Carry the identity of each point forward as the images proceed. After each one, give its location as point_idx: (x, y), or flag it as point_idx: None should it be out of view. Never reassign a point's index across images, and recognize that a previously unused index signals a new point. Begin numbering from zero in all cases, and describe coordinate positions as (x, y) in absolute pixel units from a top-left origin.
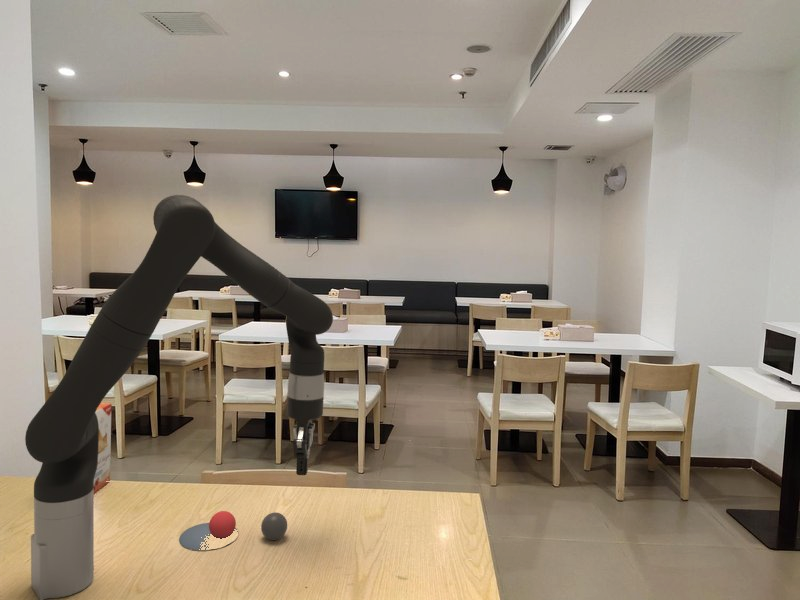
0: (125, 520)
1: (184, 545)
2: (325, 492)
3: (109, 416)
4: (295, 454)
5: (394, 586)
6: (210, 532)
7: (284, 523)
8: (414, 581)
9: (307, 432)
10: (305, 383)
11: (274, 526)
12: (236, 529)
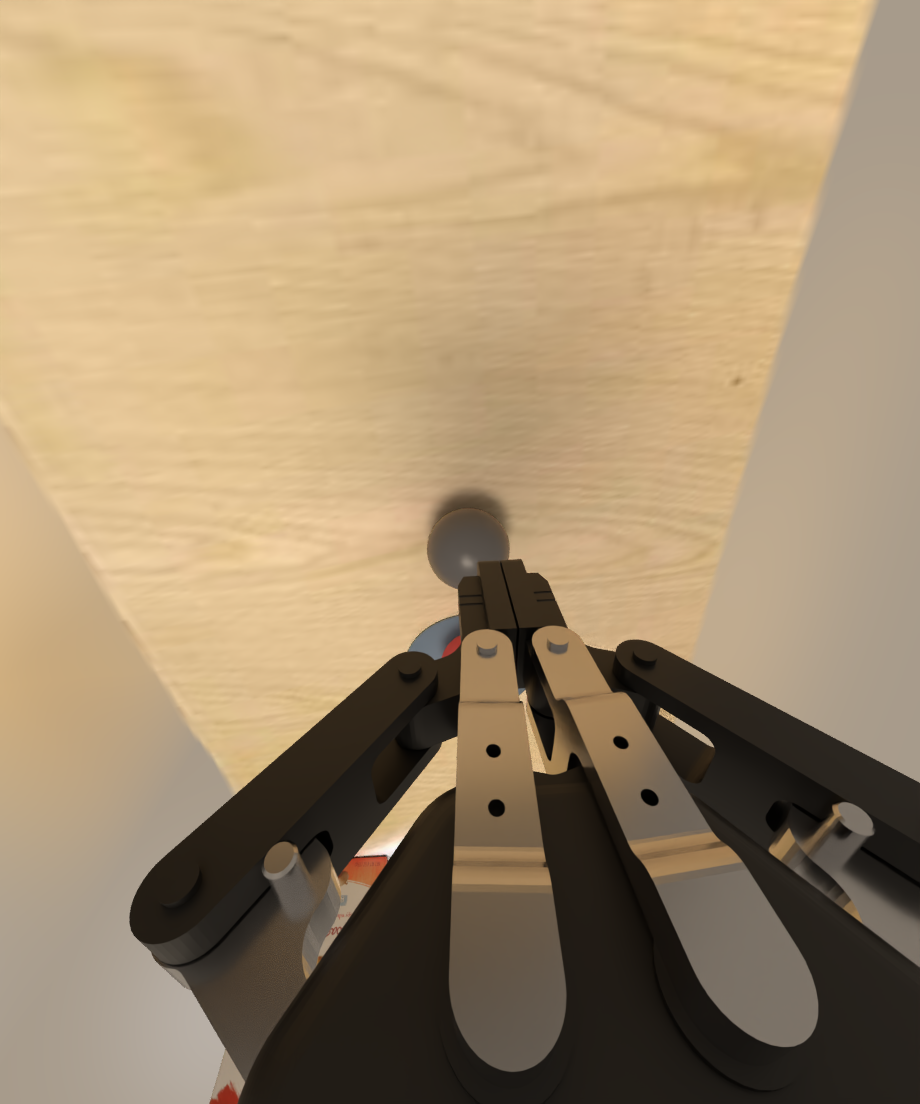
0: (425, 794)
1: (519, 692)
2: (63, 429)
3: (228, 1079)
4: (681, 736)
5: None
6: None
7: (484, 525)
8: None
9: (819, 955)
10: None
11: (506, 549)
12: (434, 626)
